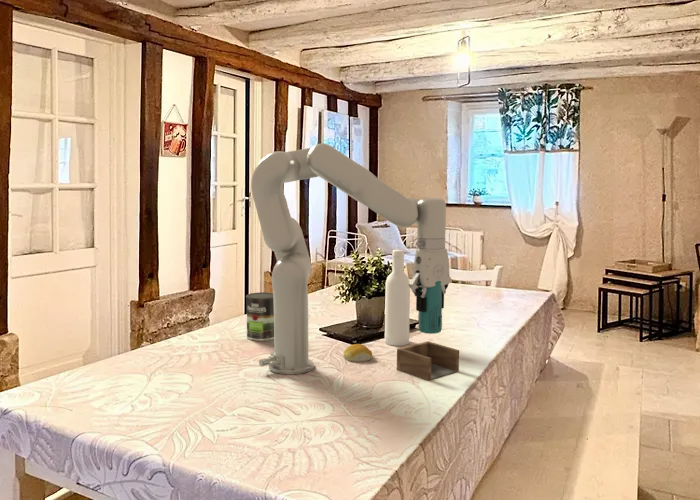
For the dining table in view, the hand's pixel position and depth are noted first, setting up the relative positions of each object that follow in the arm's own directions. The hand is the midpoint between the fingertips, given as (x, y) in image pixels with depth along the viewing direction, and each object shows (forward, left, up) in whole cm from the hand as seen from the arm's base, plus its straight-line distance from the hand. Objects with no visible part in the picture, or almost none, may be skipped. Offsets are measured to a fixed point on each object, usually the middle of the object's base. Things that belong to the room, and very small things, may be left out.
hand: (430, 308), depth 172 cm
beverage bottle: (0, 0, -8) cm, 8 cm away
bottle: (+13, +26, -18) cm, 34 cm away
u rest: (0, 0, -18) cm, 18 cm away
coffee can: (-17, +59, -18) cm, 64 cm away
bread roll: (-7, +22, -18) cm, 29 cm away
